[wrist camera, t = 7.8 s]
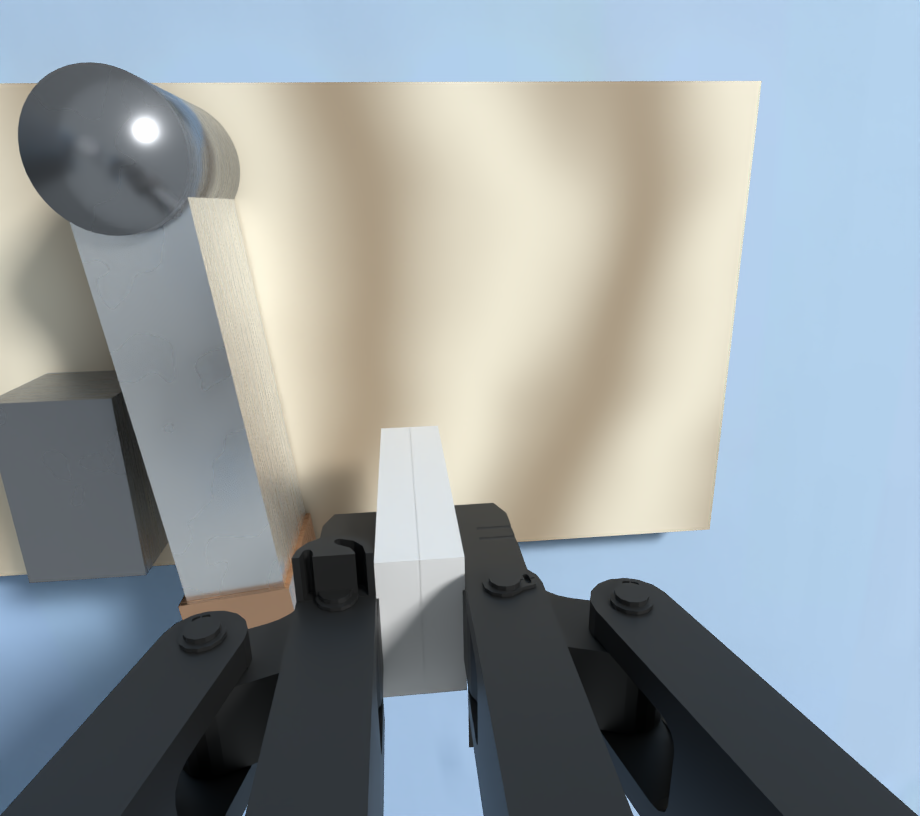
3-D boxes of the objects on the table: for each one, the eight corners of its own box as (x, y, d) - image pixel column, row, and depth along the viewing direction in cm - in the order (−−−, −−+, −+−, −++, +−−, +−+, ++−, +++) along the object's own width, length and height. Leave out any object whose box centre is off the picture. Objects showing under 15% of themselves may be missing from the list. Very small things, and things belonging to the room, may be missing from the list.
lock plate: (4, 552, 21) (-24, 577, 20) (-122, 94, 17) (-170, 83, 15) (690, 509, 23) (709, 529, 22) (734, 90, 19) (761, 80, 17)
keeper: (82, 528, 20) (29, 582, 17) (47, 373, 18) (-19, 404, 15) (182, 522, 20) (146, 574, 17) (155, 368, 18) (111, 398, 15)
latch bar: (97, 107, 16) (-7, 73, 12) (223, 92, 16) (163, 53, 12) (224, 560, 20) (180, 651, 16) (323, 544, 20) (305, 631, 16)
